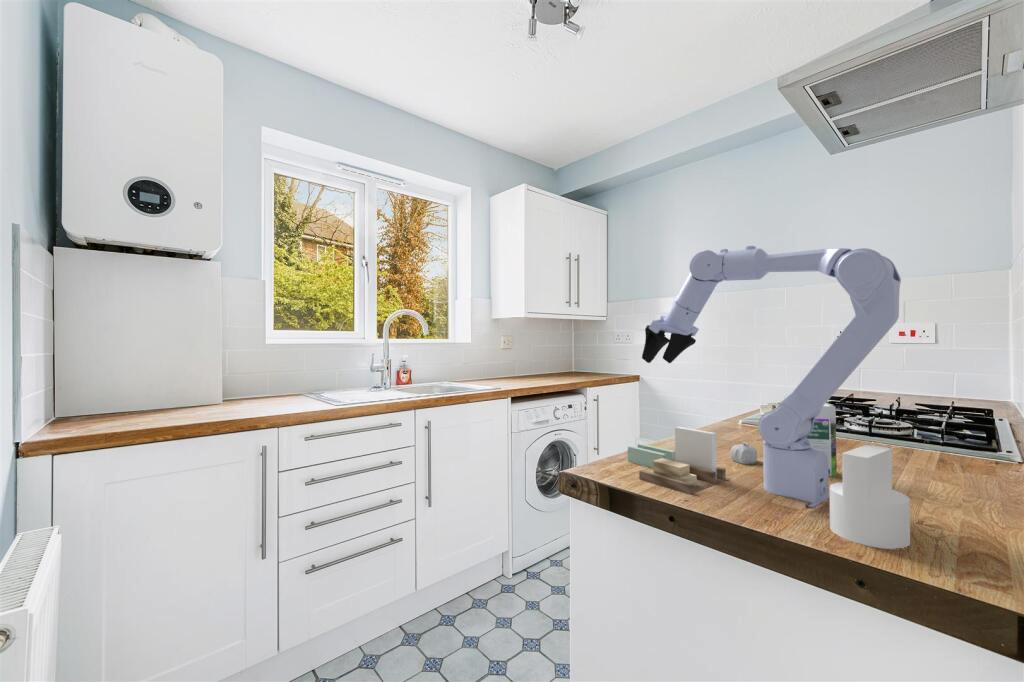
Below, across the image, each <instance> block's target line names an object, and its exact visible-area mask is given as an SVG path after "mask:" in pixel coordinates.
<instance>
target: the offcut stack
mask: <svg viewBox="0 0 1024 682" xmlns="http://www.w3.org/2000/svg"><path fill="white" fill-rule="evenodd" d="M652 471H653V472H652V473H655V474H659V475H662V476H666V477H669V478H673V479H677V480H680V481H684V482H687V483H691V484H694V486H695V485H697V475H694V474H690V465H688V464H684V463H680V462H676V461H672V460H667V459H663V458H661V459H657V460H654V461H653V468H652Z"/></svg>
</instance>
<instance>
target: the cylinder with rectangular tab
mask: <svg viewBox="0 0 1024 682" xmlns="http://www.w3.org/2000/svg"><path fill="white" fill-rule="evenodd" d="M841 459H842V460H841V461H842V464H841V465H842V473H841V474H842V482H836V483H831V484H830V485H829V495H830V498H829V529H830V531H832V533H834V534H835V535H837V536H838V537H840V538H842V539H844V540H847V541H850V542H852V543H856V544H860V545H863V546H868V547H872V548H877V549H886V550H897V549H896V548H902V549H905V548H904V547H906V548H908V547H907V546H909V547H910V545H911V499H910V497H908V496H907V495H906V494H904V493H902V492H899V491H897V490H895V489H893V448H891V447H886V446H881V445H874V444H864V445H862V446H859V447H856V448H852V449H850V450H847V451H844V452H842V457H841ZM894 548H895V549H894Z"/></svg>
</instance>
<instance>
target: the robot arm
mask: <svg viewBox="0 0 1024 682" xmlns="http://www.w3.org/2000/svg"><path fill="white" fill-rule="evenodd" d="M689 271H690V272H689V274H688V276H687V278H686V279H685V281H684V283H683V284H682V286H681V288H680V290H679V291H678V293H677V295H676V297H675V299H674V301H673V302H672V304H671V306H670V308H669V310H668V311H667V313H666V315H660V316H659V319H658V320H652V321H651V323H650V324H649V325H646V327H645V328H644V329H645V330H644V331H645V341H644V346H643V351H642V355H641V359H642V360H644V362H646V363H648V364H651V363H652V362H653V361H654V359H655V358H656V356H657V355H658V353H659V352H660V350H662V349H663V347H665V346H666V345H667V344H668V345H667V346H666V349H665V350H664V353H663V355H662V359H663V360H664V361H665V362H667V363H668V364H672V363H673V362H674V361H675V360H676V359H677V358H678V357H679V356H680V354H682V353H683V352H684V351H685V350H687V349H688V348H689V347H691V346H693V345H695V344H696V342H697V340H696V339H695V338H694V337H696V335H697V333H698V331H699V330H700V329H699V328H698V327H697V326H695V325H694V324H695V322H696V321H697V319H698V317H699V316H700V315H701V312H702V311H703V309H704V307H705V306H706V304H707V302H708V300H709V299H710V297H711V296H712V294H713V291H714V290H715V288H716V287H717V285H718V284H719V283H721V282H725V281H727V282H728V281H729V282H730V281H753V280H755V281H757V280H758V281H759V280H761V279H763V278H764V277H765V276H766V275H767V274H768V273H786V272H787V273H795V272H797V273H798V272H799V273H801V272H803V273H804V272H806V273H807V272H819V273H821V274H824V275H826V276H829V277H832V278H835V279H836V280H837V281H838V283H839V285H840V286H841V287H842V288H843V290H844V291H845V292H846V293H847V294H848V295H849V298H850V301H851V304H852V308H853V309H854V315H855V316H854V317H853V318H852V319H851V320H850V321H849V323H848V324H847V326H845V328H844V329H843V331H841V332H840V334H839V335H838V336H837V338H836V339H835V340H834V341H833V342H832V344H831V345H830V346H829V347H828V349H827V350H826V351H825V352H824V353H823V355H822V356H821V357H820V358H819V359H818V360H817V362H816V363H815V364H814V365H813V367H811V369H810V370H809V372H808V373H807V374H806V375H805V376H804V378H803V379H802V380H801V382H800V383H799V384H798V385H797V386H796V387H795V389H794V390H793V391H792V392H791V393H790V394H788V395H787V396H786V397H785V398H784V399H783V400H781V401H780V403H779V404H778V405H777V406H776V407H775V408H773V409H772V410H769V411H766V412H765V413H763V414H761V417H760V418H759V419H758V423H757V429H758V433H759V435H760V436H761V438H762V439H763V440H762V449H763V450H762V451H763V453H762V456H763V465H762V467H763V470H762V471H763V489H764V491H766V492H768V493H769V494H773V495H777V496H780V497H787V498H791V499H796V500H801V501H804V502H809V503H808V504H806V505H805V507H808V508H815V507H817V506H819V505H820V504H822V503H823V502H825V501H827V500H828V499H830V487H829V476H828V459H827V456H826V454H825V453H824V452H821V451H817V450H814V449H812V448H810V443H809V441H808V439H807V437H806V436H808V435H809V434H810V433H811V432H812V430H813V425H814V420H815V418H816V417H817V416H818V414H819V413H820V412H821V409H822V407H823V405H824V404H825V403H828V401H829V400H830V399H831V397H832V396H834V394H835V393H836V392H837V390H839V388H840V387H841V386H842V385H843V384H844V383H845V381H846V380H847V379H848V378H849V377H850V376H851V375H852V373H853V372H854V371H855V370H856V369H857V368H858V367H859V366H860V364H861V363H862V362H863V361H864V360H865V359H866V358H867V356H868V355H869V354H870V353H871V352H872V351H873V349H874V348H875V347H876V346H877V345H878V344H879V342H881V341H882V339H883V338H884V337H885V336H886V335H887V333H889V331H890V330H891V329H892V328H893V326H895V324H896V323H897V322H898V319H899V317H900V287H901V282H902V278H901V275H900V274H899V271H898V270H897V268H896V265H895V263H894V262H893V261H892V259H890V258H889V257H887V256H884V255H882V254H881V253H880V252H878V251H876V250H874V249H871V248H865V247H864V248H856V249H851V248H847V247H845V248H843V247H836V248H821V249H820V248H819V249H810V250H800V251H793V252H783V253H775V254H774V253H773V254H768V253H767V252H766V251H765V250H764V249H763V248H757V247H756V246H755V245H747V246H745V249H738V250H728V249H727V248H721V249H720V250H719V252H718V253H716V252H714V251H712V250H710V249H705V250H704V251H699V252H698V253H696V254H694V255H693V257H691V260H690V262H689ZM666 333H667V334H670V338H668V337H666Z"/></svg>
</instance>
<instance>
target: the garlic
mask: <svg viewBox="0 0 1024 682" xmlns="http://www.w3.org/2000/svg"><path fill="white" fill-rule="evenodd" d="M729 455H730V458H731V460H732V461H733V462H735V463H738V464H742V465H747V464H748V465H751V464H752V465H753V464H756V463H757V460H758V450H757V448H755V446H752V445H750V443H748V442H746V441H743V442H742V443H739V444H735V445H733V446H732V447H731V448H730V452H729Z"/></svg>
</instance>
